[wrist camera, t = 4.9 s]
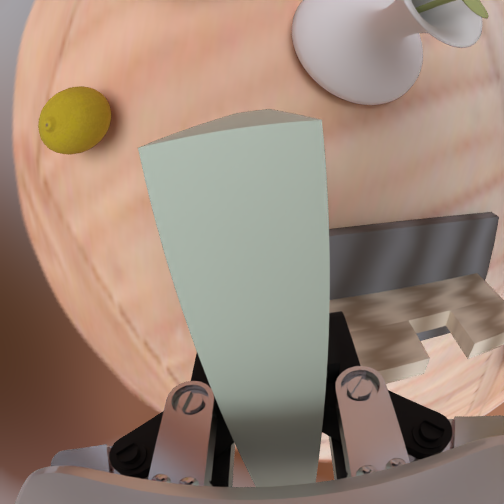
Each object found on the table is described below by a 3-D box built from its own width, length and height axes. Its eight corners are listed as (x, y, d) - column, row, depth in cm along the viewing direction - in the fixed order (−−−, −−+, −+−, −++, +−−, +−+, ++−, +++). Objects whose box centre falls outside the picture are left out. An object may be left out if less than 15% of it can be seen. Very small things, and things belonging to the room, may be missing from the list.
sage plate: (237, 113, 17) (138, 148, 3) (269, 109, 17) (322, 119, 3) (264, 299, 24) (266, 506, 9) (289, 296, 23) (312, 503, 9)
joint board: (491, 212, 26) (556, 258, 16) (465, 319, 33) (504, 376, 23) (295, 233, 28) (318, 311, 17) (302, 354, 35) (315, 435, 24)
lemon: (101, 76, 21) (49, 70, 13) (136, 115, 23) (92, 120, 15) (65, 119, 22) (11, 130, 15) (98, 157, 24) (48, 179, 17)
